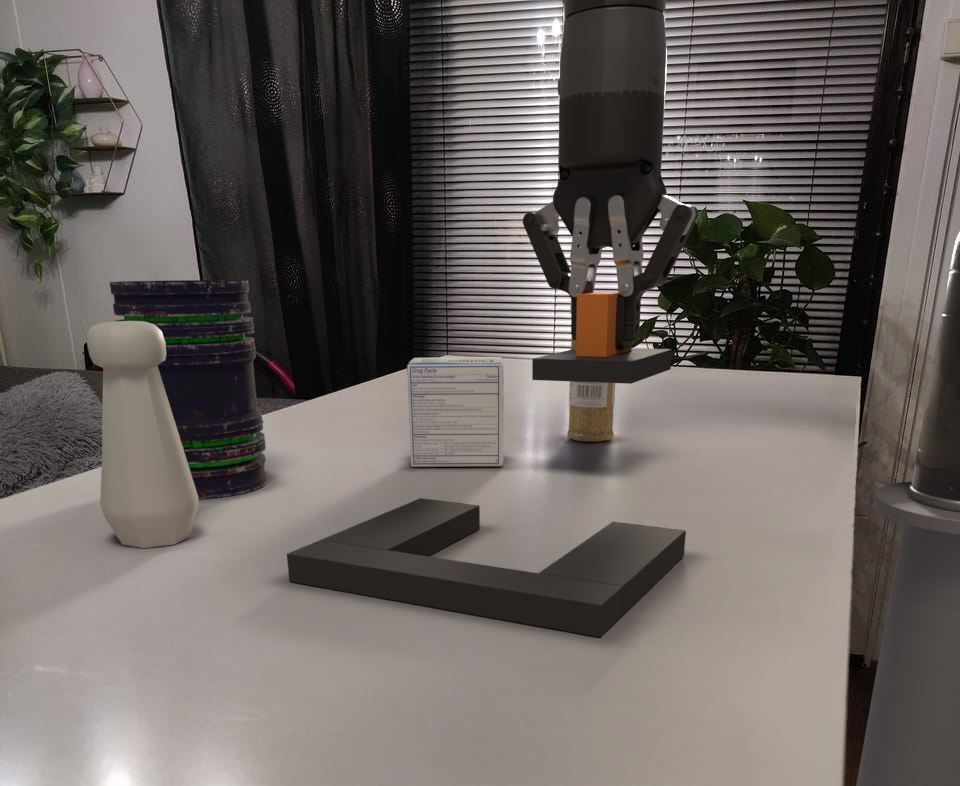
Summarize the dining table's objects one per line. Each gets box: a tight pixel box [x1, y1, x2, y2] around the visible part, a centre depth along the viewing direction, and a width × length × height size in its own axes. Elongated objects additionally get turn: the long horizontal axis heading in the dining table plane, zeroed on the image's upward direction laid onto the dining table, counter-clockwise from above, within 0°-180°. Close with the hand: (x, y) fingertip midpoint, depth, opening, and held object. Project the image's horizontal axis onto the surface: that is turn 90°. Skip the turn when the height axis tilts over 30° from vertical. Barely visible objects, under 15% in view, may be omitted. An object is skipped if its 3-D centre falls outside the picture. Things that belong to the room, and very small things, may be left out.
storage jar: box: [109, 279, 268, 500], centre depth 69 cm, size 10×10×15 cm
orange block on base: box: [531, 290, 673, 385], centre depth 71 cm, size 10×8×6 cm
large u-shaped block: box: [286, 497, 687, 638], centre depth 51 cm, size 14×18×2 cm
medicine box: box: [406, 356, 505, 468], centre depth 77 cm, size 8×4×9 cm, turn 88°
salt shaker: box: [86, 320, 199, 549], centre depth 55 cm, size 6×6×13 cm
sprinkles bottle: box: [567, 291, 616, 443], centre depth 86 cm, size 5×5×14 cm
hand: (604, 346), depth 71 cm, fingers closed on orange block on base, 2 cm apart
